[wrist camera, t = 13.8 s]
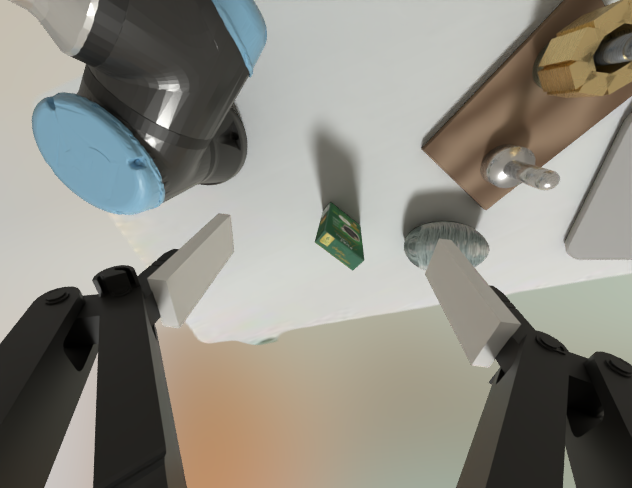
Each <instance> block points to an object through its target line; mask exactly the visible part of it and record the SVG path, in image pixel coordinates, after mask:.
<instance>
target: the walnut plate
mask: <svg viewBox="0 0 632 488" xmlns="http://www.w3.org/2000/svg"><path fill="white" fill-rule="evenodd" d="M602 7H605V5H604V3H603V2H602V0H564V1H563V2H562V3H561V4H560V5H559V6H558V7H557V8H556V9H555V10H554V11H553V12H552V13H551V14H550V15H549V16H548V17H547V18H546V19H545V20H544V22H543V23H542V24H541V25H540V26H539V27H538V28H537V29H536V30H535V31H534V32H533V33H532V34H531V35H530V36H529V37H528V38H527V39H526V40H525V41H524V42H523V43H522V44H521V45H520V46H519V48H518V49H517V50H516V51H515V52H514V53H513V54H512V55H511V56H510V57H509V58H508V59H507V60H506V61H505V62H504V63H503V64H502V65H501V66H500V67H499V68H498V69H497V70H496V71H495V72H494V74H493V75H492V76H491V77H490V78H489V79H488V80H487V81H486V82H485V83H484V84H483V85H482V86H481V87H480V88H479V89H478V90H477V91H476V92H475V93H474V94H473V95H472V96H471V97H470V98H469V100H468V101H467V102H466V103H465V104H464V105H463V106H462V107H461V108H460V109H459V110H458V111H457V112H456V113H455V114H454V115H453V116H452V117H451V118H450V119H449V120H448V121H447V122H446V123H445V124H444V126H443V127H442V128H441V129H440V130H439V131H438V132H437V133H436V134H435V135H434V136H433V137H432V138H431V139H430V140H429V141H428V142H427V143H426V144H425V145H424V146H423V147H422V148H421V149H422V150H423V151H424V152H425V153H426V154H427V155H428V156H429V157H430V158H431V159H432V160H433V161H434V162H435V163H436V164H438V165H439V166H440V167H441V168H442V169H443V170H444V171H445V172H446V173H447V174H448V175H449V176H450V177H451V178H452V179H453V180H454V181H455V182H456V183H457V184H458V185H459V186H460V187H461V188H462V189H463V190H464V191H465V192H466V193H467V194H469V195H470V196H471V197H472V198H473V199H474V200H475V201H476V202H477V203H478V204H479V205H480V206H481V207H482V208H483V209H485V210H487V209H488V208H490V207H491V206H492V205H493V204H495V203H496V202H497V201H498V200H500V199H501V198H502V197H504V196H505V195H506V194H507V193H509V192H510V191H511V190H512V189H514V188H515V187H516V186H514V187H511V188H500V187H497V186H495V185H493V184H491V183H489V182H487V181H486V180H484V179H483V177H482V176H481V173H480V167H481V163H482V161H483V159H484V157H485V156H486V155H487V154H488V153H489V152H490V151H491V150H493V149H494V148H496V147H498V146H501V145H505V144H510V145H515V146H520V147H524V148H527V149H529V150H531V151H532V152H533V154H534V156H535V166H538V167H542V166H543V165H544V164H546V163H547V162H548V161H549V160H551V159H552V158H553V157H554V156H556V155H557V154H558V153H560V152H561V151H562V150H563V149H565V148H566V147H567V146H568V145H570V144H571V143H572V142H574V141H575V140H576V139H577V138H579V137H580V136H581V135H582V134H584V133H585V132H586V131H588V130H589V129H590V128H591V127H593V126H594V125H595V124H596V123H598V122H599V121H600V120H602V119H603V118H604V117H605V116H607V115H608V114H609V113H610V112H612V111H613V110H614V109H616V108H617V107H618V106H619V105H621V104H622V103H623V102H624V101H626V100H627V99H628V98H630V97H631V96H632V82H630V83H628V84H627V85H625V86H623V87H621V88H620V89H618V90H616V91H615V92H613V93H611V94H609V95H603V96H597V97H576V98H564V97H558V96H551V95H546V94H547V93H548V92H543V89H542V88H540V87H539V86H537V85H536V83H535V82H534V80H533V74H532V73H533V66H534V63H535V60H536V58H537V56H538V55H539V53H540V52H541V50H542V49H543V48H544V47H545V46H546V45H547V44H548V43H549V42H550V41H551V39H554V38H556V37H557V36H556V33H558V32H559V31H561V30H562V29H564V28H565V27H566V26H568V25H569V24H571V23H572V22H574V21H575V20H576V19H578V18H579V17H581V16H582V15H584V14H587V13H589V12H592V11H594V10H597V9H599V8H602ZM517 186H518V185H517Z"/></svg>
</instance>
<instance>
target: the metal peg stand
mask: <svg viewBox="0 0 632 488" xmlns="http://www.w3.org/2000/svg"><path fill="white" fill-rule="evenodd" d="M556 38H557V37H556ZM549 43H550V42H549ZM549 43H548V44H547V45H546V46H545V47H544V48H543V49H542V50H541V52H540V53H539V55H538V56H537V58H536V60H535V63H534V66H533V73H532V74H533V80H534V82H535V83H536V85H537V86H539V87H540V88H542V86H541V83H540V80H539V76H538V73H537V72H538V71H540V70H541V69H543V67H538V66H539V64H540V62H541V59H542V57H543V55H544V53H545V51H546V49H547V47H548V45H549ZM593 60H594V65H595V67H597V66H603V65H609V64H615V63H621V62H627V61H632V33H629V34H625V35H621V36H617V37H614V38H610V39H606V40H602V41H601V43H600V45H599V46H598V48H597V50H596V52H595V53H594V55H593Z"/></svg>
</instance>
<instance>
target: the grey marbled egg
mask: <svg viewBox="0 0 632 488" xmlns="http://www.w3.org/2000/svg"><path fill="white" fill-rule="evenodd" d="M439 239H447V240H452V241H453V243H454V244H455V245H456V246H457V247H458V249H459V250H460V251H461V252H462V253H463V255H464V256H465V257H466V258H467V259H468V261H469V262H470V263H471V264H472V265H473V267H476V266H477V265H479V264H480V263H482V262H483V261H484V260H485V258H486V257H487V255H488V253H489V245H488V243H487V241H486V240H485V238H484V237H483V236H482V235H481V234H480V233H479V232H478V231H476V230H475V229H473V228H471V227H469V226H467V225H464V224H460V223H456V222H448V221H441V222H432V223H427V224H424V225H421V226H419V227H417V228H415V229H414V230H413V231H411V232H410V233H409V235H408V236H407V237H406V239H405V242H404V251H405V254H406V256H407V257H408V258H409V260H410V261H411V262H412V263H413V264H414V265H416V266H417V267H419V268H421V269H423V270H427V268H428V265H429V263H430V260H431V257H432V255H433V252H434V250H435V247H436V245H437V242H438V240H439Z"/></svg>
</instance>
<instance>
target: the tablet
mask: <svg viewBox="0 0 632 488" xmlns="http://www.w3.org/2000/svg"><path fill="white" fill-rule="evenodd" d="M565 247H566V252H567V254H568V255H570V256H571V257H573V258H575V259H579V260H632V112H631V113H630V114H629V115H628V116H627V117H626V119H625V120H624V122H623V123H622V125H621V127H620V130H619V132H618V134H617V136H616V138H615V140H614V142H613V144H612V146H611V148H610V150H609V152H608V154H607V156H606V158H605V160H604V162H603V164H602V166H601V169H600V171H599V173H598V175H597V177H596V179H595V181H594V183H593V185H592V187H591V189H590V191H589V193H588V195H587V197H586V199H585V201H584V203H583V205H582V208H581V210H580V212H579V214H578V216H577V218H576V220H575V222H574V224H573V226H572V228H571V230H570V232H569V234H568V236H567V238H566V241H565Z"/></svg>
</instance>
